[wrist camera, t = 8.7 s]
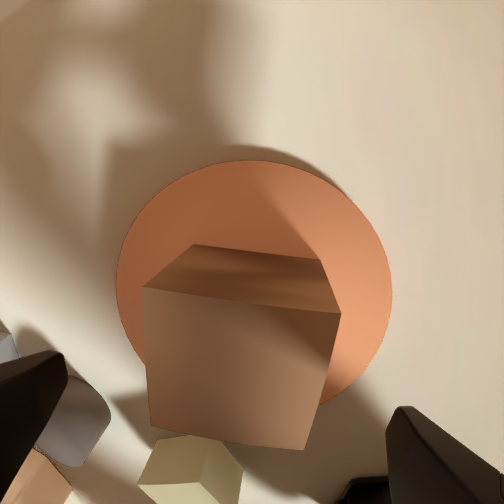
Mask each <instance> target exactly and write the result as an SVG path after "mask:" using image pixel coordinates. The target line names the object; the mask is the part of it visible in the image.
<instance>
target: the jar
mask: <svg viewBox="0 0 504 504" xmlns="http://www.w3.org/2000/svg"><path fill="white" fill-rule="evenodd" d="M72 490H73V488H72V486H71V485H70V484H69V483H68V482H67V481H66V479H65V478H64V477H63V476H62V475H61V474H60V473H59V471H58V470H57V469H56V468H55V467H54V465H53V464H52V463H51V462H50V460H49V459H48V458H47V457H46V456H44V455H43V454H41V453H39V452H38V451H36V450H34V449H33V448H32V450H31V451H30V453H29V455H28V456H27V458H26V460H25V461H24V463H23V465H22V466H21V468H20V470H19V471H18V473H17V475H16V477H15V478H14V480H13V482H12V484H11V485H10V487H9V489H8V491H7V493H6V494H5V496H4V498H3V500H2V502H1V504H64V503H65V501H66V500H67V498H68V496H69V495H70V493H71V491H72Z"/></svg>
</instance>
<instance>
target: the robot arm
mask: <svg viewBox="0 0 504 504" xmlns="http://www.w3.org/2000/svg"><path fill="white" fill-rule="evenodd" d="M67 384H68V372H67V368H66V363H65V358H64V356H63V354H62V353H60V352H57V351H54V350H47V351H43V352H40V353H36V354H33V355H29V356H26V357H22V358H18V359H15V360H11V361H8V362H4V363H0V504H1V502H2V500H3V498H4V496H5V494H6V493H7V491H8V489H9V487H10V485H11V484H12V482H13V480H14V478H15V477H16V475H17V473H18V471H19V470H20V468H21V466H22V465H23V463H24V461H25V460H26V458H27V456H28V455H29V453H30V451H31V450H32V448H33V446H34V445H35V443H36V441H37V440H38V438H39V437H40V435H41V433H42V432H43V430H44V429H45V427H46V425H47V424H48V422H49V420H50V418H51V416H52V414H53V412H54V410H55V408H56V406H57V404H58V402H59V400H60V398H61V396H62V394H63V392H64V390H65V388H66V386H67ZM385 438H386V449H387V461H388V476H389V477H380V478H362V479H354V480H352V481H350V483H349V484H348V486H347V488H346V489H345V491H344V493H343V494H342V496H341V498H340V499H339V500H338V501H336V503H335V504H504V474H502V473H500V472H499V471H498V470H497V469H495V468H494V467H493V466H491V465H490V464H489V463H487V462H486V461H485V460H483V459H482V458H480V457H479V456H478V455H476V454H475V453H474V452H472V451H471V450H470V449H468V448H467V447H466V446H464V445H463V444H462V443H460V442H459V441H458V440H456V439H455V438H454V437H452V436H451V435H450V434H448V433H447V432H446V431H444V430H443V429H442V428H440V427H439V426H438V425H436V424H435V423H434V422H432V421H431V420H430V419H428V418H427V417H426V416H425V415H423V414H422V413H421V412H419V411H418V410H417V409H415V408H414V407H412V406H399V407H397V408H396V410H395V411H394V414H393V416H392V418H391V420H390V422H389V424H388V426H387V429H386V433H385Z"/></svg>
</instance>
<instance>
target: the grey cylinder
mask: <svg viewBox="0 0 504 504" xmlns="http://www.w3.org/2000/svg"><path fill="white" fill-rule="evenodd" d="M110 420H111V413H110V410H109V407H108V405H107V403H106V402H105V400H104V399H103V398H102V396H101V395H100V394H99V393H98V392H97V391H96V390H95V389H94V388H93V387H92V386H90V385H89V384H88V383H86V382H84V381H83V380H81V379H79V378H76V377H74V376H69V375H68V384H67V386H66V388H65V390H64V392H63V394H62V396H61V398H60V400H59V402H58V404H57V406H56V408H55V410H54V412H53V414H52V416H51V418H50V420H49V422H48V424H47V425H46V427H45V429H44V430H43V432H42V433H41V435H40V437H39V438H38V440H37V441H36V443H35V444H36V445H37V446H38V447H39V448H40V449H41V450H42V451H43V452H44V453H46V454H47V455H48V456H49V457H51V458H52V459H54V460H56V461H57V462H59V463H61V464H64V465H66V466H69V467H80V466H82V465H83V463H84V462H85V460H86V459H87V457H88V455H89V454H90V452H91V451H92V449H93V448H94V446H95V445H96V443H97V441H98V440H99V438H100V437H101V435H102V434H103V432H104V431H105V429H106V428H107V426H108V425H109V423H110Z"/></svg>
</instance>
